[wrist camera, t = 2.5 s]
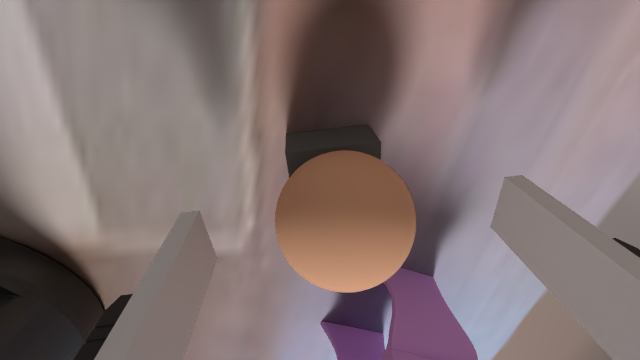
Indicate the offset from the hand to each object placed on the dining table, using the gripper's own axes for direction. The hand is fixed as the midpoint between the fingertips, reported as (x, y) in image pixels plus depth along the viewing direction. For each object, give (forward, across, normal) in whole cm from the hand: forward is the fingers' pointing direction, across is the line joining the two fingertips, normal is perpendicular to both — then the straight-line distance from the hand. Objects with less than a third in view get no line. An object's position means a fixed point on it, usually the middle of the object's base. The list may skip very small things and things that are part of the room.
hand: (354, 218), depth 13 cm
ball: (+3, 0, 0) cm, 3 cm away
